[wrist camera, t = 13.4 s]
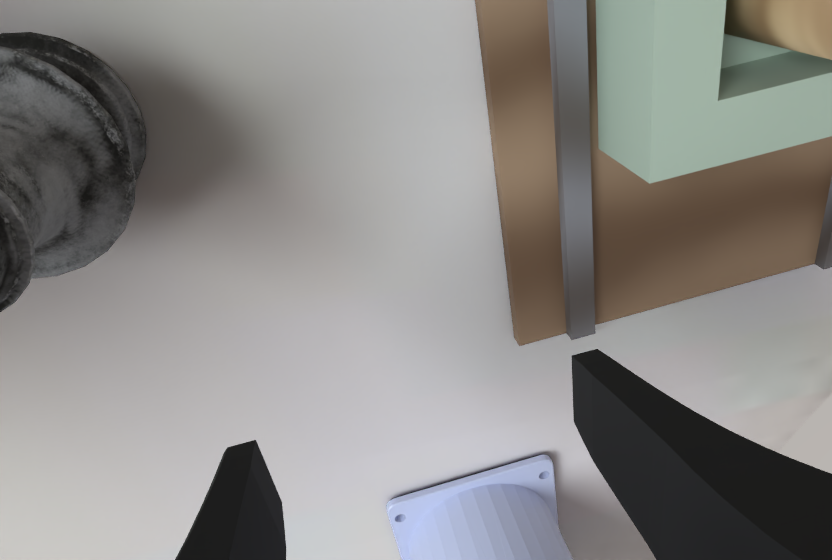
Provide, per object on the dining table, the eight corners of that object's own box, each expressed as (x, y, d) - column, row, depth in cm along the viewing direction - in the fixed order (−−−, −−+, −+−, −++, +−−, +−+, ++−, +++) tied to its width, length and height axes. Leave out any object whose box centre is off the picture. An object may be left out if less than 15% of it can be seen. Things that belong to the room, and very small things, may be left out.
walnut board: (867, 239, 26) (1028, 324, 21) (514, 337, 25) (584, 456, 19) (1031, -431, 16) (1445, -622, 10) (437, -323, 15) (542, -478, 9)
